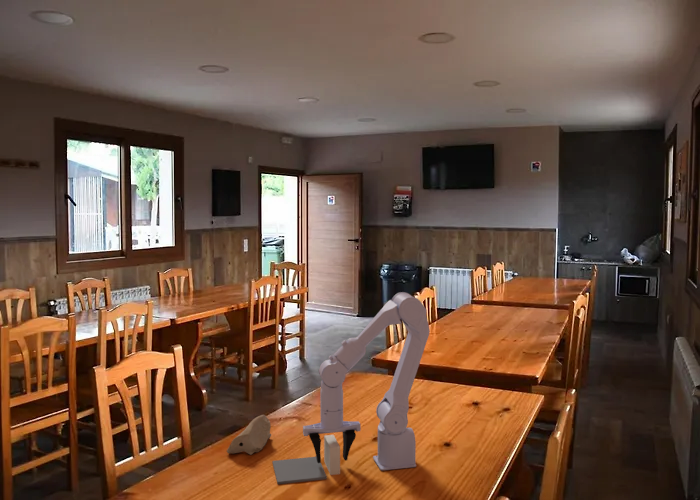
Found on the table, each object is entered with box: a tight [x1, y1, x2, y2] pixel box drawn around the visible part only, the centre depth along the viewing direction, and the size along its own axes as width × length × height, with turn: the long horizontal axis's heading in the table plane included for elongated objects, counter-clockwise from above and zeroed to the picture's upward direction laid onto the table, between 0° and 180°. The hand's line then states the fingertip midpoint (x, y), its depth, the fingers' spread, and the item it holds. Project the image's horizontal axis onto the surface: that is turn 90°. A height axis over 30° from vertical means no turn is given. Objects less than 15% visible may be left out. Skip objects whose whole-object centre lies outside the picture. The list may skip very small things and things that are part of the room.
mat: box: [272, 456, 328, 485], centre depth 150 cm, size 12×12×1 cm
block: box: [323, 434, 341, 476], centre depth 152 cm, size 2×8×7 cm, turn 13°
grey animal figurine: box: [226, 414, 272, 456], centre depth 165 cm, size 8×14×8 cm, turn 158°
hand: (331, 460), depth 152 cm, fingers open, 6 cm apart
